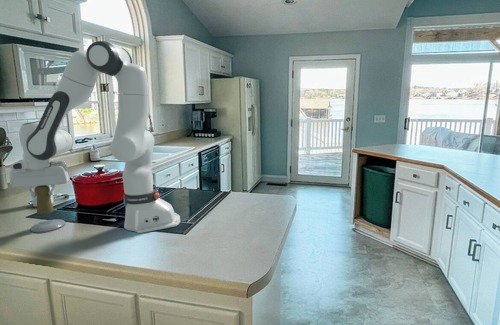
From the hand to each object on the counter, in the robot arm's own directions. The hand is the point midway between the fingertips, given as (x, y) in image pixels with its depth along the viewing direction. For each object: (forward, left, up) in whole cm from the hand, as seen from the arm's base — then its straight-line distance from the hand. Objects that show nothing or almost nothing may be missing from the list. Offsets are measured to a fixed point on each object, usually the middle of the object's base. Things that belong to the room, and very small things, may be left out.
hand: (43, 195), depth 131 cm
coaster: (0, 0, -13) cm, 13 cm away
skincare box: (+13, -34, -14) cm, 39 cm away
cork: (0, 0, -7) cm, 7 cm away
